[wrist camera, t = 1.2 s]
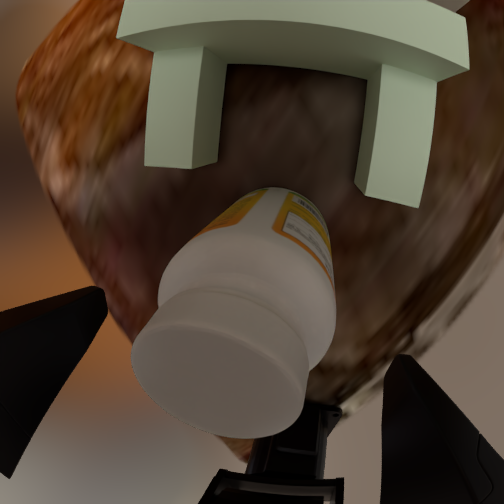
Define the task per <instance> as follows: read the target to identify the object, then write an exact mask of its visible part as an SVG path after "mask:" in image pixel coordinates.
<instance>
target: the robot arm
mask: <svg viewBox="0 0 504 504" xmlns="http://www.w3.org/2000/svg"><path fill="white" fill-rule="evenodd" d="M107 314H108V307H107V302H106V297H105V292H104V290H103V289H102V288H99V287H96V286H89V287H85V288H82V289H78V290H75V291H71V292H67V293H64V294H60V295H57V296H53V297H50V298H46V299H43V300H39V301H36V302H32V303H29V304H25V305H22V306H18V307H15V308H11V309H8V310H5V311H3V312H2V311H1V312H0V473H2V474H3V475H4V476H6V477H7V478H8V479H10V478H11V476H12V475H13V472H14V471H15V468H16V466H17V465H18V463H19V461H20V459H21V457H22V455H23V453H24V451H25V449H26V447H27V446H28V444H29V442H30V440H31V438H32V436H33V434H34V433H35V431H36V429H37V427H38V426H39V424H40V422H41V421H42V419H43V417H44V416H45V414H46V412H47V411H48V409H49V407H50V406H51V404H52V403H53V401H54V399H55V398H56V396H57V395H58V393H59V391H60V390H61V388H62V387H63V385H64V384H65V382H66V381H67V379H68V378H69V376H70V375H71V373H72V372H73V370H74V369H75V367H76V366H77V364H78V363H79V361H80V360H81V358H82V357H83V355H84V354H85V353H86V351H87V349H88V348H89V346H90V344H91V343H92V341H93V339H94V337H95V336H96V333H97V332H98V330H99V329H100V327H101V325H102V323H103V322H104V320H105V318H106V317H107ZM341 416H342V409H340V408H335V407H326V406H318V405H311V404H305V403H304V405H303V409H302V411H301V414H300V415H299V417H298V418H297V420H296V421H295V422H294V423H293V424H292V425H291V426H289V427H288V428H287V429H285V430H283V431H281V432H279V433H277V434H274V435H270V436H266V437H261V438H255V439H254V443H253V447H252V450H251V454H250V457H249V461H248V464H247V468H246V471H245V474H243V473H236V472H231V471H228V470H225V469H219V471H218V472H217V474H216V476H214V478H213V479H212V481H211V483H210V484H209V486H208V488H207V489H206V491H205V493H204V495H203V496H202V498H201V499H200V501H199V503H198V504H323V503H324V501H330V504H343V500H344V477H343V478H336V479H323V477H324V468H325V457H326V445H327V437H328V436H329V434H330V433H331V431H332V430H333V428H334V427H335V425H336V424H337V422H338V421H339V419H340V418H341ZM381 426H382V477H381V496H380V504H504V459H503V458H502V457H501V456H500V455H499V454H498V453H497V452H496V451H495V450H494V449H493V447H492V446H491V445H490V444H489V443H488V442H487V440H486V439H485V438H484V437H483V436H482V434H479V431H478V430H477V428H476V427H475V426H474V425H473V424H472V423H471V422H470V420H469V419H468V418H467V417H466V416H465V415H464V413H463V412H462V411H461V410H460V409H459V408H458V407H457V405H456V404H455V403H454V402H453V401H452V400H451V399H450V398H449V396H448V395H447V394H446V393H445V392H444V391H443V390H442V389H441V388H440V387H439V385H438V384H437V383H436V382H435V381H434V380H433V379H432V378H431V377H430V376H429V374H427V372H426V371H425V370H424V369H423V368H422V367H421V366H420V365H419V364H418V363H417V362H416V361H415V359H414V358H413V357H412V356H410V355H406V354H398V355H396V356H395V358H394V360H393V361H392V363H391V365H390V367H389V368H388V370H387V372H386V374H385V377H384V389H383V409H382V425H381Z"/></svg>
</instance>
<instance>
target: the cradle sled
mask: <svg viewBox="0 0 504 504" xmlns="http://www.w3.org/2000/svg"><path fill="white" fill-rule="evenodd" d="M116 38H117V39H120V40H123V41H126V42H128V43H131V44H134V45H137V46H139V47H142V48H145V49H147V50H150V51H152V52H154V57H153V64H152V71H151V79H150V87H149V97H148V108H147V120H146V136H145V159H144V166H156V167H171V168H184V169H194V168H197V167H201V166H204V165H208V164H212V163H215V162H217V159H218V147H219V136H220V125H221V115H222V105H223V96H224V87H225V78H226V70H227V64H261V65H276V66H288V67H297V68H305V69H313V70H320V71H326V72H332V73H338V74H343V75H348V76H353V77H358V78H362V79H366V80H367V91H366V101H365V110H364V119H363V127H362V134H361V142H360V148H359V155H358V161H357V167H356V173H355V179H354V184H355V185H356V186H357V187H358V188H359V189H360V190H361V192H362V193H363V194H364V195H365V196H369V197H374V198H378V199H383V200H387V201H391V202H395V203H399V204H403V205H407V206H411V207H415V208H419V204H420V200H421V196H422V191H423V186H424V181H425V176H426V171H427V166H428V160H429V154H430V147H431V140H432V133H433V124H434V114H435V103H436V86H437V82H439V81H441V80H444V79H446V78H449V77H451V76H454V75H457V74H459V73H462V72H464V71H467V70H469V51H468V37H467V28H466V20H465V18H464V17H462V16H460V15H458V14H456V13H454V12H452V11H450V10H448V9H446V8H443V7H441V6H439V5H436V4H434V3H431V2H429V1H426V0H125V2H124V6H123V10H122V14H121V18H120V22H119V27H118V32H117V37H116Z"/></svg>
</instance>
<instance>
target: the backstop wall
mask: <svg viewBox="0 0 504 504" xmlns="http://www.w3.org/2000/svg"><path fill="white" fill-rule="evenodd" d="M426 1H429V2H431V3H434V4H436V5H439V6H441V7H443V8H446V9H448V10H450V11H452V12H454V13H455V12H456V11H457V10H458V9H460V8H461V7H462V6H463V5H465V4H466V3H467V2H468V1H470V0H426Z"/></svg>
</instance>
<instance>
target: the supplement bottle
mask: <svg viewBox="0 0 504 504" xmlns="http://www.w3.org/2000/svg"><path fill="white" fill-rule="evenodd" d="M158 307H159V309H158V310H157V311H156V312H155V314H154V315H153V316H152V318H151V319H150V321H149V322H148V323H147V324H146V326H145V327H144V328H143V329H142V331H141V332H140V333H139V334H138V336H137V337H136V339H135V341H134V343H133V346H132V350H131V363H132V368H133V371H134V373H135V376H136V378H137V380H138V382H139V383H140V385H141V387H142V388H143V389H144V391H145V392H146V393H147V394H148V396H149V397H150V398H151V399H152V400H153V401H154V402H155V403H156V404H158V405H159V406H160V407H161V408H163V410H165V411H166V412H167V413H169V414H170V415H172V416H173V417H175V418H177V419H178V420H180V421H182V422H184V423H186V424H188V425H190V426H192V427H194V428H197V429H200V430H202V431H205V432H208V433H211V434H215V435H219V436H225V437H230V438H242V439H247V438H261V437H266V436H270V435H274V434H277V433H279V432H281V431H283V430H285V429H287V428H288V427H289V426H291V425H292V424H293V423H294V422H295V421H296V420H297V418H298V417H299V415H300V414H301V411H302V409H303V405H304V399H305V393H306V387H307V380H308V376H309V371H310V370H312V369H313V368H314V367H315V366H316V365H317V364H318V363H319V362H320V360H321V359H322V358H323V357H324V355H325V354H326V352H327V350H328V349H329V346H330V344H331V342H332V339H333V336H334V332H335V326H336V296H335V286H334V275H333V264H332V254H331V246H330V238H329V233H328V229H327V225H326V223H325V220H324V218H323V216H322V214H321V213H320V211H319V210H318V209H317V207H316V206H315V205H314V204H313V203H312V202H311V201H309V200H308V199H307V198H306V197H304V196H302V195H301V194H299V193H297V192H294V191H292V190H289V189H284V188H276V187H270V188H262V189H258V190H255V191H253V192H250V193H248V194H246V195H245V196H243V197H242V198H240V199H239V200H237V201H236V202H235V203H234V204H233V205H231V206H230V207H229V208H228V209H227V210H226V211H224V212H223V213H222V214H221V215H219V216H218V217H217V218H216V219H214V220H213V221H212V222H211V223H210V224H208V225H207V226H206V227H205V228H204V229H203V230H201V231H200V232H199V233H198V234H197V235H196V236H194V237H193V238H192V239H191V240H190V241H189V242H188V243H187V244H186V245H184V246H183V247H182V249H181V250H180V251H179V252H178V253H177V254H176V255H175V256H174V257H173V258H172V260H171V261H170V262H169V264H168V266H167V267H166V269H165V271H164V273H163V275H162V278H161V282H160V286H159V291H158Z"/></svg>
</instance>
